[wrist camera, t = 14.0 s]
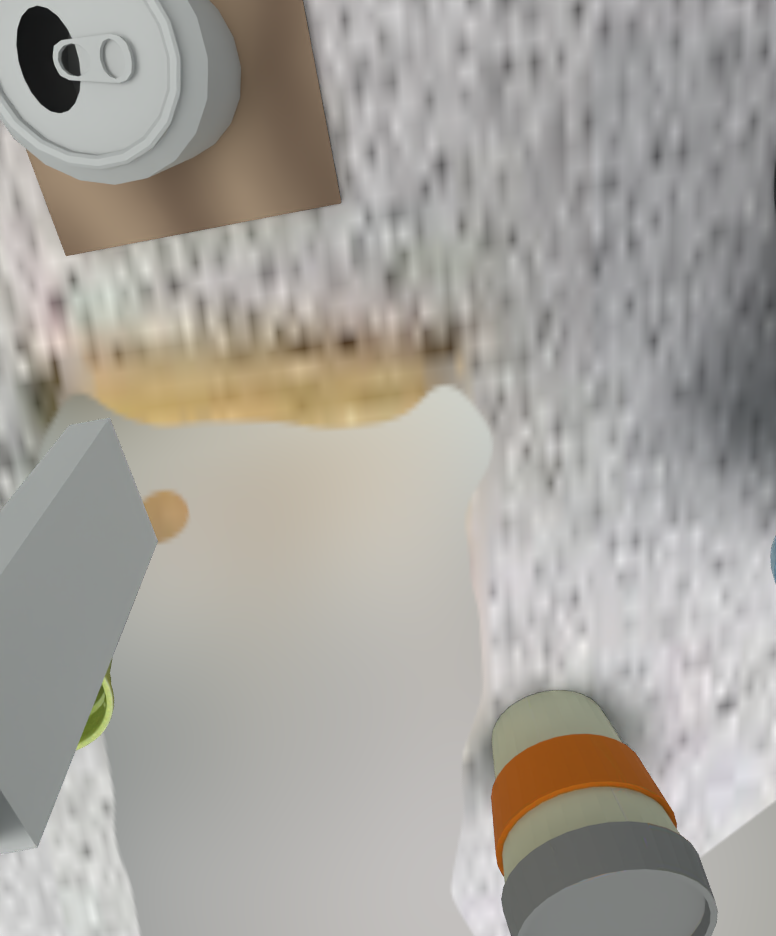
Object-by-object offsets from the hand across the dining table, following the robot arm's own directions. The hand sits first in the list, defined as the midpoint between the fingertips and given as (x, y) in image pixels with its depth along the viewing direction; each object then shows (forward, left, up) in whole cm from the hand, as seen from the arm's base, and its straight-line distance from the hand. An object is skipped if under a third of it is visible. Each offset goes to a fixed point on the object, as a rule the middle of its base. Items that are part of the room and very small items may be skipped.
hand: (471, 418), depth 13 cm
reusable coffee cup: (-6, +40, -27) cm, 49 cm away
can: (+9, -8, -26) cm, 28 cm away
